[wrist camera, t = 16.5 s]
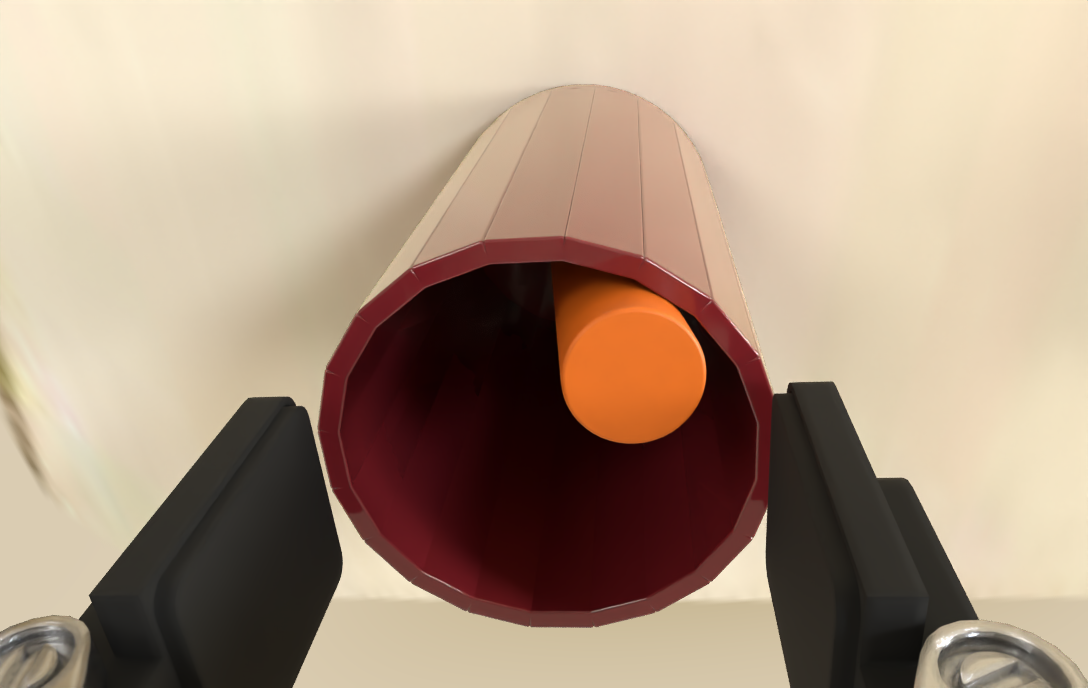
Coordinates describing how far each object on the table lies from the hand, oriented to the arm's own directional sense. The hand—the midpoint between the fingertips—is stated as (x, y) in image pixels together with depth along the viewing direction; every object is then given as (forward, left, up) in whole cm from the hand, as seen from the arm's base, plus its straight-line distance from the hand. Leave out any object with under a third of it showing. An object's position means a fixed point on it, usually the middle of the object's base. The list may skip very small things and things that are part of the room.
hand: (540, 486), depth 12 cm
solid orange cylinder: (0, 0, -11) cm, 11 cm away
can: (0, 0, -12) cm, 12 cm away
